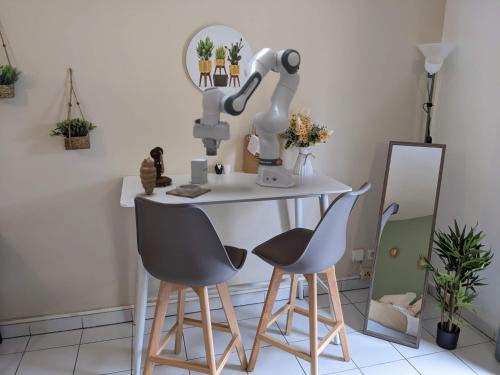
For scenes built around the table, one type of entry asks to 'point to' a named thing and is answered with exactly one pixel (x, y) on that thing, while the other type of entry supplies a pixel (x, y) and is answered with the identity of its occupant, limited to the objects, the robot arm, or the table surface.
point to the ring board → (203, 190)
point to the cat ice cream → (148, 175)
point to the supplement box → (199, 171)
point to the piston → (211, 147)
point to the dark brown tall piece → (159, 166)
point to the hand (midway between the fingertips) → (211, 148)
